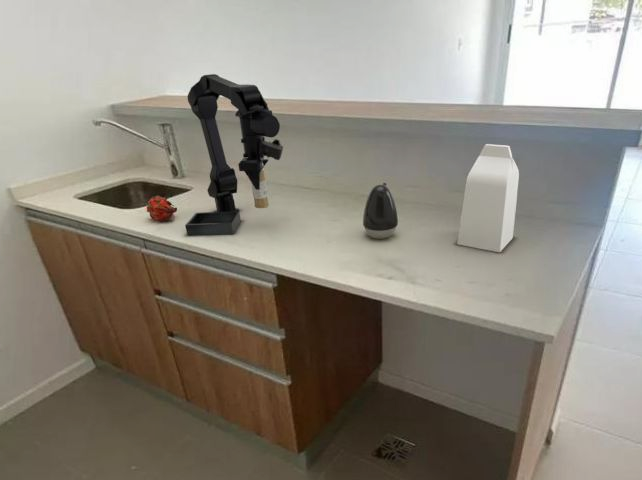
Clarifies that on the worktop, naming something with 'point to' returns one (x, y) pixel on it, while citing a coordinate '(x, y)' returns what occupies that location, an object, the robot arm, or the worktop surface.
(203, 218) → the rectangular frame
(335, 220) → the worktop surface
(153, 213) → the dragon fruit
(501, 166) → the milk
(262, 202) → the sprinkles bottle
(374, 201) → the black egg-shaped piece
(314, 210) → the worktop surface
